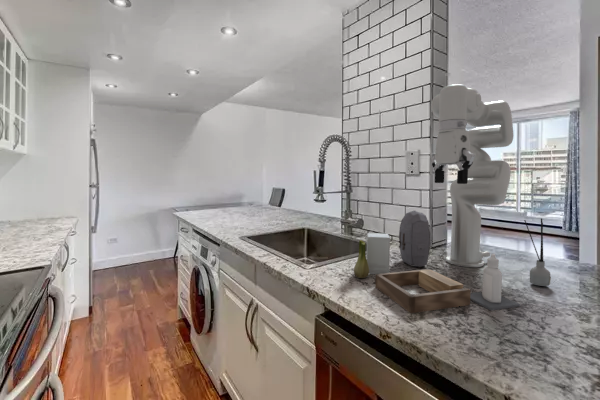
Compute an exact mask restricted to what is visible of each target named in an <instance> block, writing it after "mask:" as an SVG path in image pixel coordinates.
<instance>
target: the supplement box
mask: <svg viewBox="0 0 600 400" xmlns="http://www.w3.org/2000/svg"><path fill="white" fill-rule="evenodd" d="M390 247H391V237H390V235H389V233H379V232H378V233H370V232H367V233H366V259H367V262H368V266H369V275H370V274H371V275H375V274H383V273H390V249H391V248H390Z"/></svg>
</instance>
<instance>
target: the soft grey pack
mask: <svg viewBox="0 0 600 400" xmlns="http://www.w3.org/2000/svg"><path fill="white" fill-rule="evenodd" d="M398 240H399V241H398V243H399V245H398V246H399V247H398V248H399V251H400V259H401V260H402V261H403V263H406V264H407V265H409V266H413V267H425V266H427V265H428V262H429V257H430V250H431V249H430V247H431V233H430V223H429V220H428V217H427V216H426V214H425V213H423V212H420V211H417V210H412V211H408V212H406V213H405V215H404V216H403V217H402V219H401V221H400V224H399V231H398Z"/></svg>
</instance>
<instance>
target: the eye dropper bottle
mask: <svg viewBox="0 0 600 400" xmlns="http://www.w3.org/2000/svg"><path fill="white" fill-rule="evenodd" d="M486 259H487V261H486V266H485V267H483V270H482V271H483V273H482V289H481V292H482V296H483V298H484V299H486V300H487V301H489V302H491V303H501V296H502V290H503V289H502V285H503V274H502V273H503V272H502V271H501V270H500V269H499V259H498V258H496V254H495V253H491V254H490V256H489V257H488V258H486Z"/></svg>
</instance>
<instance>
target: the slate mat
mask: <svg viewBox="0 0 600 400" xmlns="http://www.w3.org/2000/svg"><path fill="white" fill-rule="evenodd" d="M470 302H473V303H475V304H477V305H479V306H481V307H483V308H485V309H487V310H489V311H498V310H503V309H505V310H506V309H510V308H511V309H512V308H517V307H521V303H520V302H517V301H514V300H511V299H510V298H507V297H505V296H504V295H503V296H502V295H501V303H491V302H489V301H487V300H486V299H484V298H483V296H482V291H477V292H476V291H475V292H471V293H470Z"/></svg>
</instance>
